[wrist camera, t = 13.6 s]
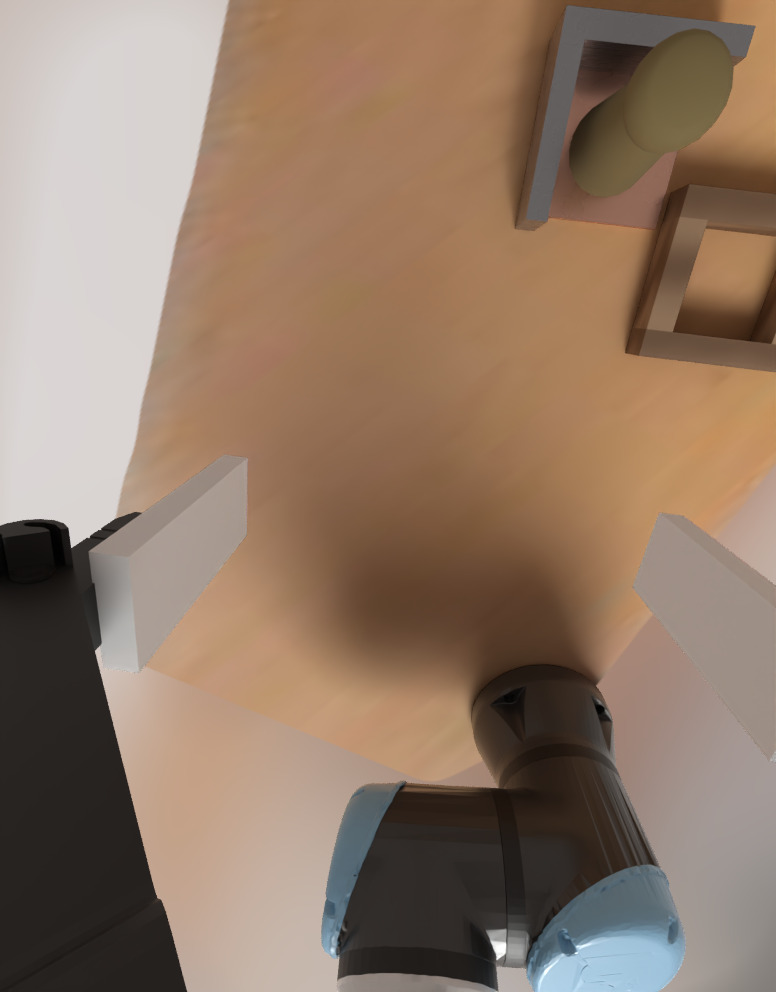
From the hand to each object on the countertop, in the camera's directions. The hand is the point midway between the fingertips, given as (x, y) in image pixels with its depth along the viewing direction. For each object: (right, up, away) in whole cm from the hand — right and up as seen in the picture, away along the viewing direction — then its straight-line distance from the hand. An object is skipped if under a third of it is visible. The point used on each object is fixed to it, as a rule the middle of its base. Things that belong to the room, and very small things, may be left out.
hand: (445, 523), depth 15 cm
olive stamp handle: (+14, +26, +19) cm, 36 cm away
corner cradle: (+15, +26, +20) cm, 36 cm away
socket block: (+25, +18, +22) cm, 38 cm away
